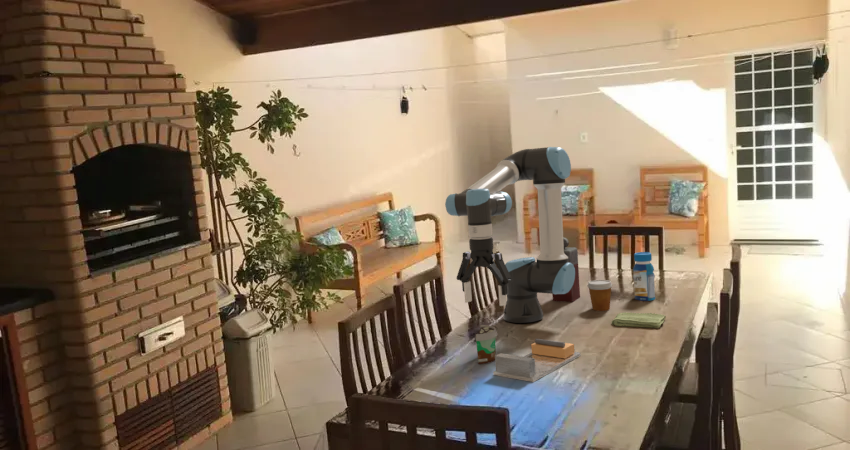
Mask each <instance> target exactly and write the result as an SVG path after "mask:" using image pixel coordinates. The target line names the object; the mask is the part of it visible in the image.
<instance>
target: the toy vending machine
mask: <svg viewBox="0 0 850 450" xmlns="http://www.w3.org/2000/svg"><path fill="white" fill-rule="evenodd" d="M569 244H570V242H569V239H568V238H567V237H563V245H564V254H565V255H566V256H568V262H569V263H571V264H573V266H574V268H575V280H574V283H573V286H572V288H571V289H570V291H569V292H568V293H566V294H556V295H555V294H551V295H552V302H564V303H565V302H567V303H574V302H575V301H577V300H579V299H580V298H581V292H580V291H581V290H580V286H581V285H580V273H579V272H580V271H579V269H580V268H579V254H578V248H577V247H568V246H569Z"/></svg>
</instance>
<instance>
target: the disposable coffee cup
mask: <svg viewBox="0 0 850 450" xmlns="http://www.w3.org/2000/svg"><path fill="white" fill-rule="evenodd" d="M587 283H588V284H587V288H588V293H589V297H590V303H591V309H592V310H593V311H597V312H603V311H604V312H605V311H609V310H610V308H611V298H612V297H611V296H612V287H613V284H612V282H611V280H607V279H595V280H590V281H588V282H587Z"/></svg>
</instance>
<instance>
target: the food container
mask: <svg viewBox="0 0 850 450" xmlns="http://www.w3.org/2000/svg"><path fill="white" fill-rule="evenodd" d="M497 336H498V332H497V329H496V327H494V326H492V325H487V324H486V325H485V324H480V325H479V330H478V332H477V334H475V342H476V352H477V353H476V355H477V363H478V365H486V364H490V363H493V362H495V356H496V355H497V353H496V347H497V346H496V345H497V344H496V343H497V342H496V341H497V340H496V338H497Z"/></svg>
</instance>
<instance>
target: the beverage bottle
mask: <svg viewBox="0 0 850 450" xmlns="http://www.w3.org/2000/svg"><path fill="white" fill-rule="evenodd" d="M652 256H653V255H652V253H651V252H649V251H641V252H635V253H634V254H633V258H634V263H635V264H634V266H633V268H632V271H633V274H632V279H633V287H634V288H633V289H634V300H637V301H640V302H641V301H643V302H649V301H654V300H656V294H655V293H656V292H655V291H656V290H655V278H656V277H655V276H656V275H655V273H654V272H655V268H654V265H653V264H652V260H653V257H652Z"/></svg>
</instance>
